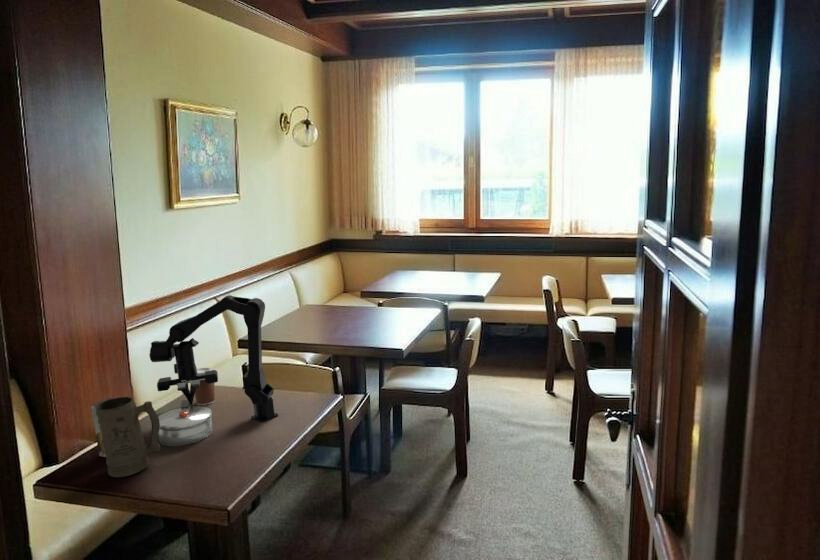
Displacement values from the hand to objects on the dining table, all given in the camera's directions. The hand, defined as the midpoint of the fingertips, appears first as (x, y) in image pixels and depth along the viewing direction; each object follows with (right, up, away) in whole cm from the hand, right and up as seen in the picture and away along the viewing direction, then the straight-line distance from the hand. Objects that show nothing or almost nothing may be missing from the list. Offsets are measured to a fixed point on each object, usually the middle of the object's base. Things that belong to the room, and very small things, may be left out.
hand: (191, 405), depth 212 cm
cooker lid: (+1, -2, -9) cm, 9 cm away
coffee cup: (-1, -3, +18) cm, 18 cm away
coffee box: (-15, -10, -22) cm, 28 cm away
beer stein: (-5, -12, -32) cm, 34 cm away
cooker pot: (0, -7, -9) cm, 11 cm away
